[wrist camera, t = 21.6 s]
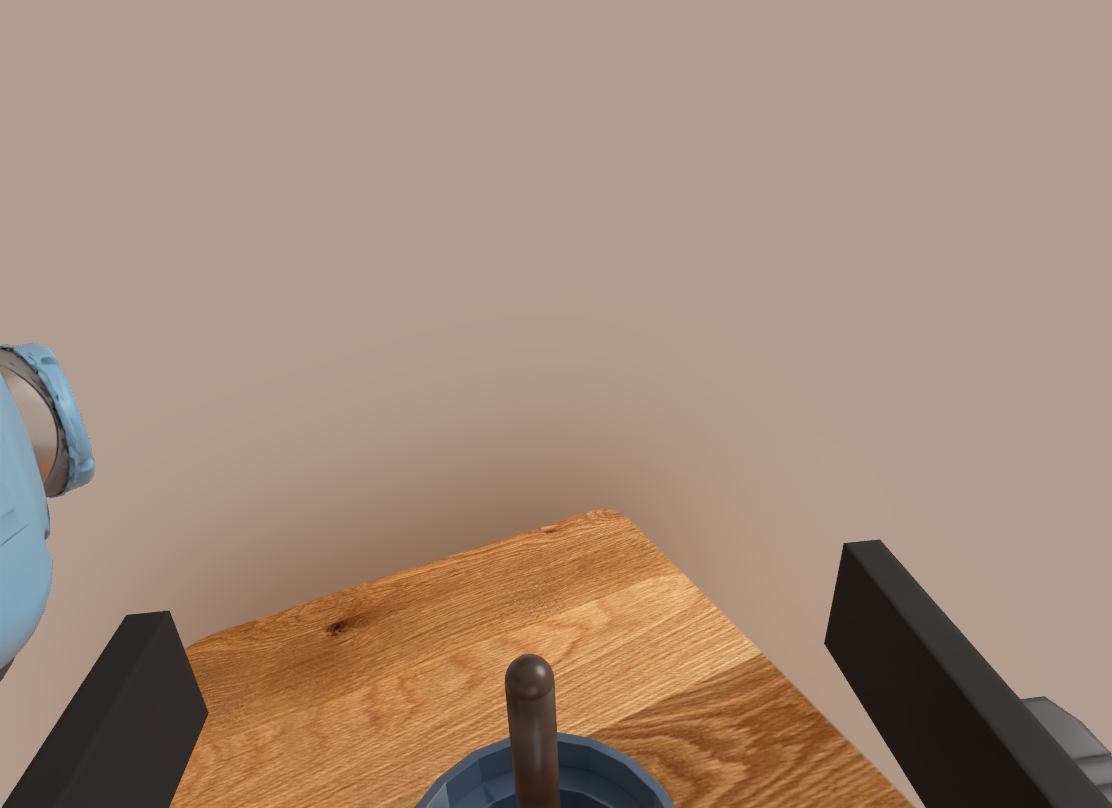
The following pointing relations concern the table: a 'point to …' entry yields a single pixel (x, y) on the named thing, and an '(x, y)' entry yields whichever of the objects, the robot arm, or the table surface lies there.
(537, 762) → the joystick lever
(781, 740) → the table surface
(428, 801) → the bowl
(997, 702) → the robot arm
